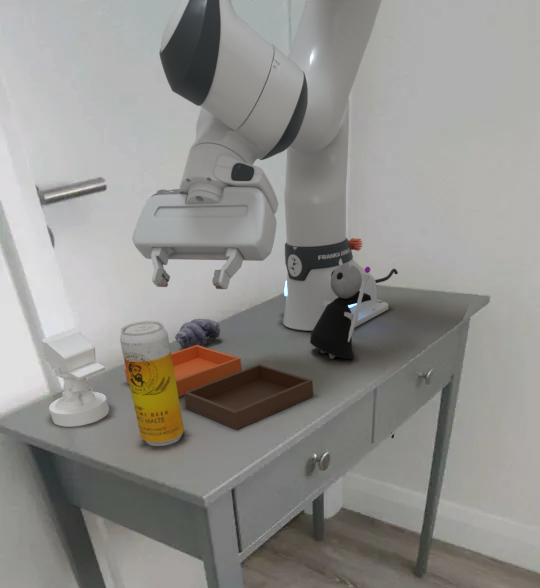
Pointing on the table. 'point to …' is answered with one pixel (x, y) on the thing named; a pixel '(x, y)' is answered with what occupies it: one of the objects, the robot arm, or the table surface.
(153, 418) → the beer can
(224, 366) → the can tray
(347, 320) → the toy
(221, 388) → the walnut tray
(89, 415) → the character figurine
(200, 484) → the table surface
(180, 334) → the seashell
